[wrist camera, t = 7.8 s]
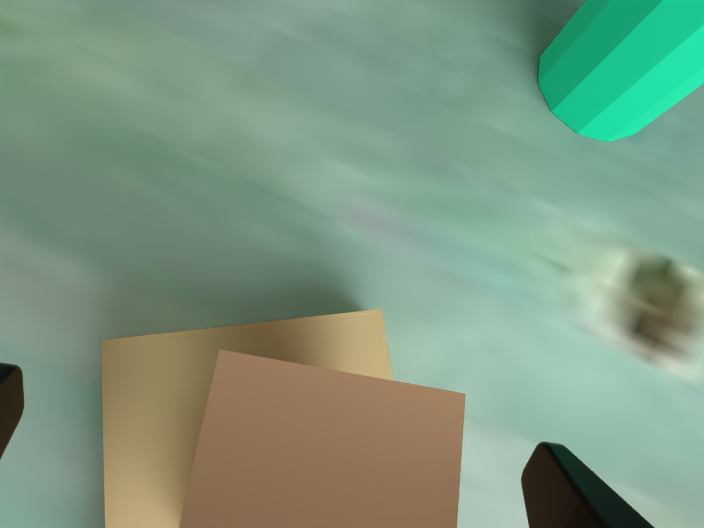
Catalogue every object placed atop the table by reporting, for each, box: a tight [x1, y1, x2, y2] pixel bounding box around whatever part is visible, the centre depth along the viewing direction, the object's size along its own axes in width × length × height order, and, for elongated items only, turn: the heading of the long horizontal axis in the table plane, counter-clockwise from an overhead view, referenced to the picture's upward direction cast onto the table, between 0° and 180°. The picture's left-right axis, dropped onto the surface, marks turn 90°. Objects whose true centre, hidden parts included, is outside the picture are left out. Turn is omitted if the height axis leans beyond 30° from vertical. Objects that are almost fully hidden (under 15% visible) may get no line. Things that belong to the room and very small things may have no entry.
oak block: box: [101, 309, 393, 528], centre depth 17 cm, size 9×9×2 cm
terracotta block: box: [179, 349, 465, 528], centre depth 12 cm, size 4×4×9 cm
